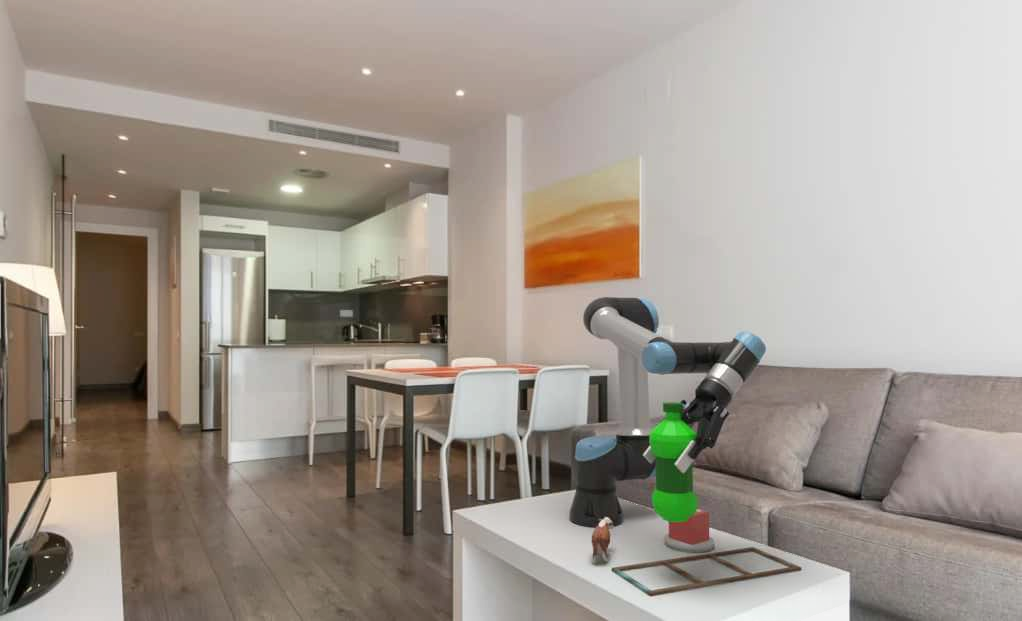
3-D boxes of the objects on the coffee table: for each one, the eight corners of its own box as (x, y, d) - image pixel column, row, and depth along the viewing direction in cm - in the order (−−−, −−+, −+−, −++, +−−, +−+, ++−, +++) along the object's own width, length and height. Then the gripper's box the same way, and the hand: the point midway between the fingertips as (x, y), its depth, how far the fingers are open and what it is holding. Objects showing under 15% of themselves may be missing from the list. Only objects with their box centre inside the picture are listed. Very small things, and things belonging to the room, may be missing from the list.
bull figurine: (616, 549, 153) (615, 515, 153) (606, 568, 140) (606, 531, 140) (598, 547, 154) (598, 514, 154) (587, 565, 141) (587, 529, 142)
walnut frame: (611, 570, 138) (611, 567, 138) (752, 549, 153) (752, 546, 153) (650, 596, 124) (650, 593, 124) (801, 570, 139) (801, 567, 139)
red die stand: (654, 543, 157) (654, 508, 158) (684, 534, 164) (684, 501, 165) (694, 556, 148) (693, 519, 148) (724, 546, 155) (723, 511, 155)
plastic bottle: (653, 525, 130) (651, 405, 131) (649, 511, 141) (647, 400, 142) (702, 526, 129) (700, 406, 130) (695, 512, 139) (692, 401, 140)
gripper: (766, 404, 131) (708, 486, 124) (694, 395, 152) (642, 465, 146) (746, 380, 129) (687, 462, 122) (676, 374, 150) (622, 444, 144)
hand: (662, 463), depth 134 cm, fingers closed on plastic bottle, 10 cm apart
